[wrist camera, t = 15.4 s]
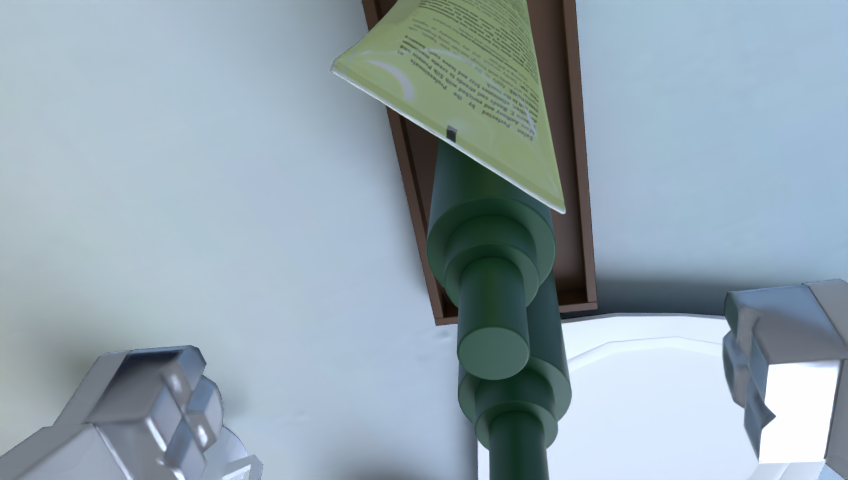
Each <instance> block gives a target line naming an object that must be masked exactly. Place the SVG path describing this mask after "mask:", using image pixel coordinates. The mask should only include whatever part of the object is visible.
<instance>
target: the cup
mask: <svg viewBox="0 0 848 480" xmlns="http://www.w3.org/2000/svg"><path fill="white" fill-rule="evenodd" d="M203 454H204V456H205V459H206V461H207V463H208V464H207V467H206V469H205V472H204V474H203V477H202V479H201V480H242V478H243V475H244V472H245V471H247V470H249V469H250V474H249V480H261V476H262V470H263V463H262V462H261V461H260V460H259V459H258V458H257V457H256V456H255V455H251V456H248V457H247V453H246V450H245V448H244V446H243V444H242V443H241V442H240V440H239V439H238V438H237V437H236V436H235V435H234V434H233V433H232V432H230V431H229V430H228V429H226V428H225V427H223V426H222V428H221V431H220V434H219V437H218V439H217V441H216V442H215V443H214V444H213V445H212V446H211V447H210V448H209V449H207V450H206V451H205V452H204V453H203Z"/></svg>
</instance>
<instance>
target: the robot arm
mask: <svg viewBox="0 0 848 480" xmlns="http://www.w3.org/2000/svg"><path fill="white" fill-rule="evenodd" d="M724 316H725V318H726V320H727V323H728V325H729V327H730V329H731V330H730V331H729V332H728V333H727V334H726V335H725V336H724V337H723V341H722V359H723V367H724V375H725V378H726V382H727V385H728V389H729V391H730V394H731V397H732V399H733V402H735V403H736V404H738V405H739V406H741V407H742V408H744V423H743V426H744V429H745V431H746V433H747V436H748V438H749V441H750V443H751V445H752V448H753V450H754V453H755V455H756V457H757V460H758V462H759V463H781V462H808V461H826V463H825V464H826V465H828V466H829V467H830V468H831V469H833V470H834V471H835V472H836V473H837V474H839V475H840V476H841V477H842V478H844V479H845V480H848V283H847V282H846V281H844V280H842V279H834V280H825V281H817V282H809V283H802V284H801V285H791V286H781V287H772V288H762V289H753V290H743V291H734V292H727V295H726V299H725V306H724ZM205 366H206V362H205V360H204V358H203V356H202V354H201V352H200V350H199V348H197V347H194V346H191V345H187V346H174V347H161V348H147V349H135V350H127V351H115V352H107V353H105V354H103V355H101V356H99V357H98V359H97V360H96V362H95V363H94V365H93V366H92V367H91V369H90V370H89V372H88V373H87V375H86V376H85V378H84V379H83V381H82V382H81V384H80V385H79V387H78V388H77V390H76V391H75V393H74V394H73V396H72V397H71V399H70V400H69V402H68V403H67V405H66V406H65V408H64V409H63V411H62V412H61V414H60V415H59V417H58V418H57V420H56V421H55V422H54V424H53V425H52V426H50V427H43V428H41V429H40V430H38V431H37V432H35V433H34V434H32V435H31V436H30V437H28V438H27V439H25V440H24V441H22V442H21V443H20V444H18V445H17V446H15V447H14V448H12V449H11V450H9V451H8V452H7V453H5V454H4V455H2V456H1V457H0V480H201V479H202V477H203V474H204V472H205V469H206V467H207V464H208V463H207V461H206V459H205V456H204V454H203V453H204V452H205V451H206V450H207V449H209V448H210V447H211V446H212V445H213V444H214V443H215V442H216V441H217V439H218V437H219V434H220V431H221V428H222V423H223V410H224V408H223V403H222V398H221V394H220V392H219V390H218V387H217V385H216V383H214V382H213V381H211V380H210V379H208V378H207V377H205V376H204V375H203V371H204V369H205Z"/></svg>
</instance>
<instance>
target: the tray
mask: <svg viewBox="0 0 848 480" xmlns="http://www.w3.org/2000/svg"><path fill="white" fill-rule="evenodd" d="M397 1H398V0H362V3H363V7H364V12H365V16H366V21H367V25H368V29H369V31H370V30H371V29H372V28H373V27H374V26H375V25H376V24H377V23H378V22H379V21H380V20H381V19H382V18H383V17H384V16H385V15H386V14H387V13H388V12H389V11H390V9H391V8H392V7H393V6H394V5H395V4H396V2H397ZM526 2H527V7H528V13H529V19H530V26H531V32H532V37H533V43H534V48H535V53H536V59H537V64H538V70H539V75H540V80H541V86H542V91H543V97H544V102H545V107H546V112H547V117H548V122H549V127H550V132H551V137H552V142H553V147H554V153H555V158H556V163H557V168H558V173H559V178H560V183H561V188H562V193H563V198H564V205H565V208H566V213H565V214H561V213H559V212H557V211H556V210H554V209H552V208H550V211H551V216H552V222H553V228H554V234H555V240H556V258H555V262H554V265H553V273H554V279H555V286H556V292H557V299H558V305H559V312H560V313H564V312H573V311H583V310H593V309H598V304H597V290H596V277H595V263H594V249H593V235H592V222H591V208H590V194H589V181H588V167H587V153H586V139H585V126H584V112H583V98H582V84H581V71H580V57H579V43H578V29H577V16H576V2H575V0H526ZM386 108H387V113H388V117H389V122H390V126H391V130H392V135H393V139H394V144H395V148H396V152H397V157H398V161H399V166H400V170H401V174H402V179H403V183H404V188H405V192H406V196H407V201H408V205H409V210H410V214H411V218H412V223H413V227H414V232H415V236H416V240H417V245H418V249H419V253H420V258H421V262H422V267H423V271H424V275H425V280H426V284H427V289H428V293H429V297H430V302H431V306H432V311H433V315H434V319H435V324H436V326H439V325H449V324H458V311H459V308H458V307H456V306H455V305H454V304H453V302H452V301H451V300H450V298H449V297H448V295H447V293H446V290H445V288H444V287H443V286H442V285H441V284H440V283H439V282H438V280H437V279H436V278H435V276H434V275H433V273H432V271H431V269H430V267H429V264H428V261H427V255H426V244H427V236H428V227H429V219H430V210H431V202H432V193H433V185H434V176H435V167H436V159H437V150H438V142H439V137H437V136H435V135H434V134H432V133H430V132H429V131H427V130H425V129H424V128H422V127H420V126H419V125H417V124H415V123H414V122H412V121H410V120H409V119H407V118H406V117H404V116H402V115H401V114H399V113H398V112H396V111H394V110H393V109H391V108H390V107H388V106H387V105H386Z"/></svg>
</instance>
